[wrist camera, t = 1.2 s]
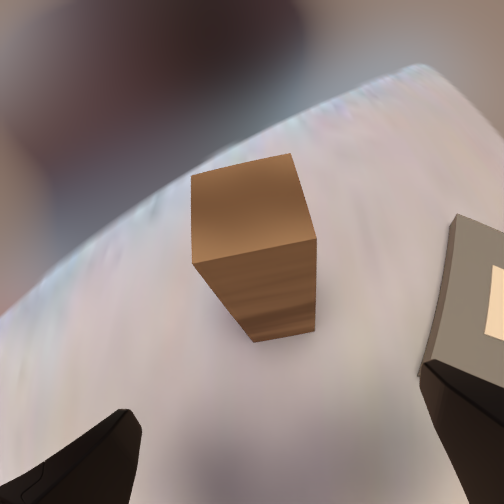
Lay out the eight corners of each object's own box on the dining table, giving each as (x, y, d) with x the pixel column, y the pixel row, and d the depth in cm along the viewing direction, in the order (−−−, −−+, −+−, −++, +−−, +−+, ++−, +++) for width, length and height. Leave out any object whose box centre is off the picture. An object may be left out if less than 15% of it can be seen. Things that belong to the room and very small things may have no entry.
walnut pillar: (314, 331, 22) (316, 238, 11) (253, 342, 22) (192, 263, 11) (302, 276, 24) (290, 153, 13) (246, 287, 25) (191, 175, 13)
